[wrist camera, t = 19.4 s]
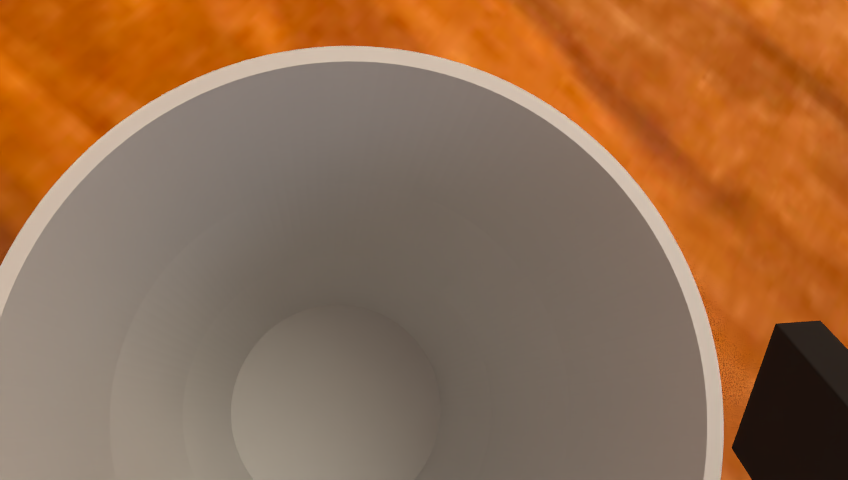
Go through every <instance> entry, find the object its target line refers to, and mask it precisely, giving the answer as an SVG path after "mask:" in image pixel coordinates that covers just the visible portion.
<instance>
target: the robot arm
mask: <svg viewBox="0 0 848 480" xmlns="http://www.w3.org/2000/svg"><path fill="white" fill-rule="evenodd" d="M732 449H733V451H734V452H735V454H736V455H737V457H738V459H739V460H740V462H741V463H742V465H743V466H744V468H745V469H746V471H747V473H748V474H749V476H750V477H751V479H752V480H848V349H847V348H846V347H845V346H844V345H843V344H842V343H841V342H840V341H839V340H838V339H837V338H836V337H835V336H834V335H833V334H832V333H831V331H830V330H829V329H828V328H827V327H826V326H825V325H824V324H823V323H822V322H821V321H809V322H794V323H780V324H776V325H775V328H774V330H773V333H772V336H771V339H770V342H769V344H768V347H767V350H766V353H765V356H764V359H763V361H762V364H761V367H760V370H759V373H758V375H757V378H756V381H755V384H754V387H753V389H752V392H751V395H750V398H749V401H748V404H747V406H746V409H745V412H744V415H743V418H742V420H741V423H740V426H739V429H738V432H737V435H736V437H735V440H734V443H733V446H732Z"/></svg>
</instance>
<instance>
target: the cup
mask: <svg viewBox="0 0 848 480" xmlns="http://www.w3.org/2000/svg"><path fill="white" fill-rule="evenodd" d="M723 442H724V418H723V399H722V388H721V380H720V372H719V366H718V360H717V354H716V349H715V345H714V340H713V336H712V332H711V328H710V325H709V321H708V317H707V314H706V311H705V308H704V305H703V302H702V299H701V296H700V293H699V291H698V288H697V285H696V283H695V280H694V278H693V276H692V273H691V271H690V269H689V266H688V264H687V262H686V260H685V258H684V256H683V254H682V252H681V250H680V248H679V246H678V244H677V242H676V241H675V239H674V237H673V235H672V234H671V232H670V230H669V228H668V227H667V225H666V223H665V222H664V220H663V219H662V217H661V216H660V214H659V213H658V211H657V209H656V208H655V207H654V205H653V204H652V202H651V201H650V200H649V198H648V197H647V195H646V194H645V193H644V192H643V190H642V189H641V188H640V187H639V185H638V184H637V183H636V182H635V180H634V179H633V178H632V177H631V176H630V175H629V173H628V172H627V171H626V170H625V169H624V168H623V167H622V166H621V165H620V163H619V162H618V161H617V160H616V159H615V158H614V157H613V156H612V155H611V154H610V153H609V152H608V151H607V150H606V149H605V148H604V147H603V146H602V145H600V144H599V143H598V142H597V141H596V140H595V139H594V138H593V137H592V136H590V135H589V134H588V133H587V132H586V131H584V130H583V129H582V128H581V127H579V126H578V125H577V124H576V123H574V122H573V121H572V120H570V119H569V118H568V117H566V116H565V115H564V114H562V113H561V112H559V111H558V110H556V109H555V108H553V107H552V106H550V105H549V104H547V103H545V102H544V101H542V100H541V99H539V98H537V97H536V96H534V95H532V94H530V93H528V92H527V91H525V90H523V89H521V88H519V87H517V86H515V85H513V84H511V83H509V82H507V81H505V80H503V79H500V78H498V77H496V76H494V75H491V74H489V73H486V72H484V71H481V70H479V69H476V68H473V67H470V66H467V65H464V64H461V63H458V62H455V61H451V60H448V59H444V58H440V57H436V56H432V55H428V54H423V53H418V52H412V51H406V50H399V49H391V48H382V47H367V46H330V47H316V48H306V49H298V50H291V51H285V52H279V53H274V54H270V55H265V56H261V57H257V58H253V59H249V60H245V61H242V62H239V63H236V64H232V65H229V66H226V67H224V68H221V69H218V70H215V71H212V72H210V73H208V74H205V75H203V76H200V77H198V78H196V79H193V80H191V81H189V82H187V83H185V84H183V85H180V86H179V87H177V88H175V89H173V90H171V91H169V92H167V93H165V94H163V95H162V96H160V97H158V98H157V99H155V100H153V101H151V102H150V103H148V104H147V105H145V106H143V107H142V108H140V109H139V110H137V111H136V112H134V113H133V114H131V115H130V116H129V117H127V118H126V119H124V120H123V121H121V122H120V123H119V124H117V125H116V126H115V127H114V128H112V129H111V130H110V131H109V132H107V133H106V134H105V135H104V136H102V137H101V138H100V139H99V140H98V141H97V142H95V143H94V144H93V145H92V146H91V147H90V148H89V149H88V150H87V151H86V152H85V153H83V154H82V155H81V156H80V157H79V158H78V159H77V160H76V161H75V162H74V163H73V164H72V165H71V166H70V167H69V169H68V170H67V171H66V172H65V173H64V174H63V175H62V176H61V177H60V178H59V180H58V181H57V182H56V183H55V184H54V185H53V186H52V188H51V189H50V190H49V191H48V193H47V194H46V195H45V196H44V198H43V199H42V200H41V202H40V203H39V204H38V206H37V207H36V208H35V210H34V211H33V213H32V214H31V215H30V217H29V218H28V220H27V221H26V223H25V224H24V226H23V228H22V229H21V231H20V232H19V234H18V235H17V237H16V239H15V241H14V242H13V244H12V246H11V247H10V249H9V251H8V253H7V255H6V257H5V259H4V261H3V262H2V264H1V266H0V480H721V471H722V460H723Z"/></svg>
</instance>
